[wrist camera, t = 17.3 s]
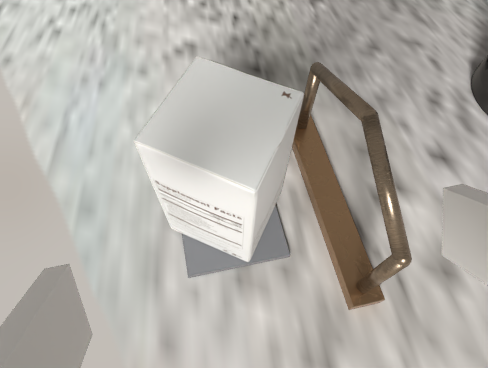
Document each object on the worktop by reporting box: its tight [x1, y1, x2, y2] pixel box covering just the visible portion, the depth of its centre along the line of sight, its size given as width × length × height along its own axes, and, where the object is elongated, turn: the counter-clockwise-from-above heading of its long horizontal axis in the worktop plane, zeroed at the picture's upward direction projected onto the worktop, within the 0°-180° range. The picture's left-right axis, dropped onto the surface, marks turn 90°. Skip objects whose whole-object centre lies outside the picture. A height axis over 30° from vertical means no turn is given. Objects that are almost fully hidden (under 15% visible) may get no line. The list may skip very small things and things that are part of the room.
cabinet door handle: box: [292, 62, 412, 310], centre depth 31 cm, size 3×22×15 cm, turn 12°
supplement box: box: [134, 57, 304, 262], centre depth 30 cm, size 9×9×15 cm
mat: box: [182, 205, 290, 278], centre depth 36 cm, size 10×10×1 cm
